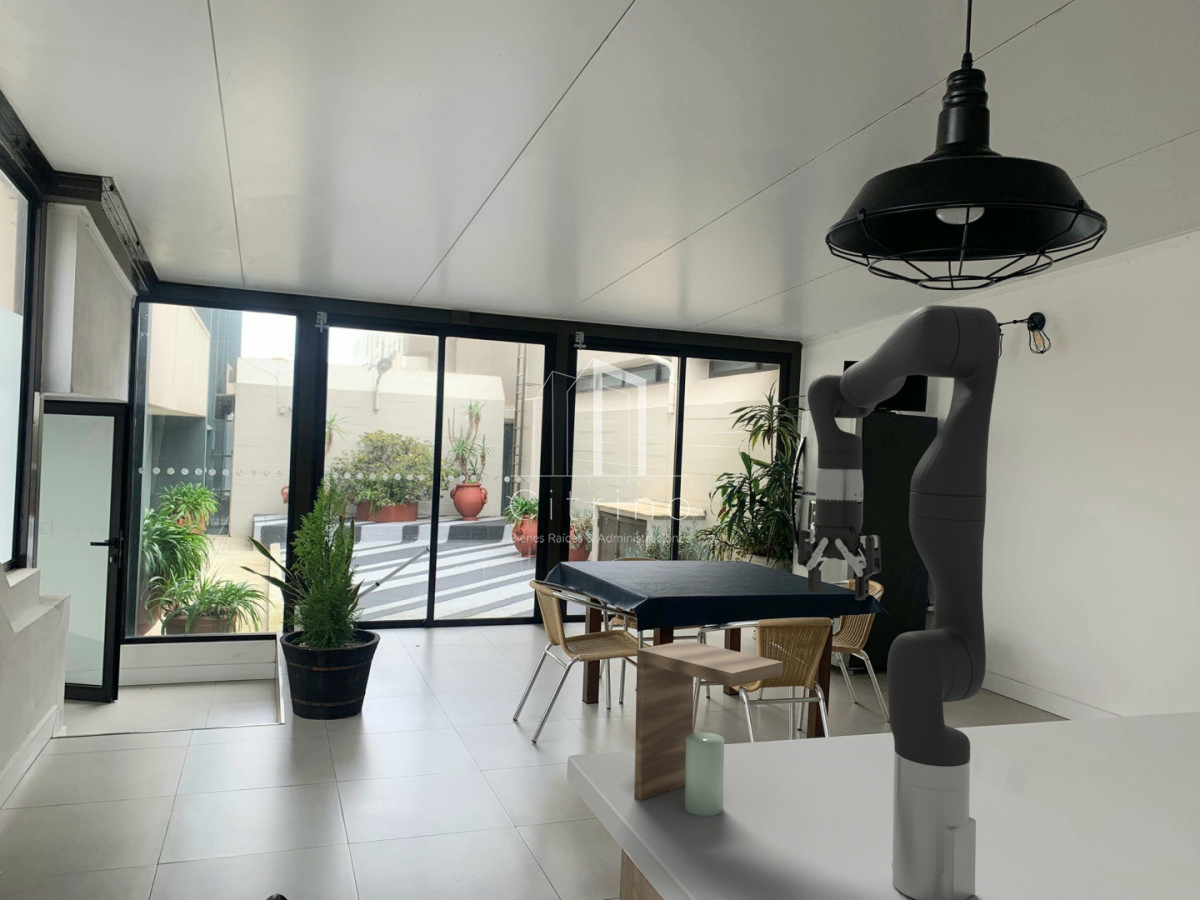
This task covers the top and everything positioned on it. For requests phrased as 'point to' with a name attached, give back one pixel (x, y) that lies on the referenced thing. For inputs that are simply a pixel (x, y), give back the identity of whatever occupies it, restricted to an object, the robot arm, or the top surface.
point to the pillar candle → (704, 774)
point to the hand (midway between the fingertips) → (837, 596)
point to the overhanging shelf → (680, 704)
